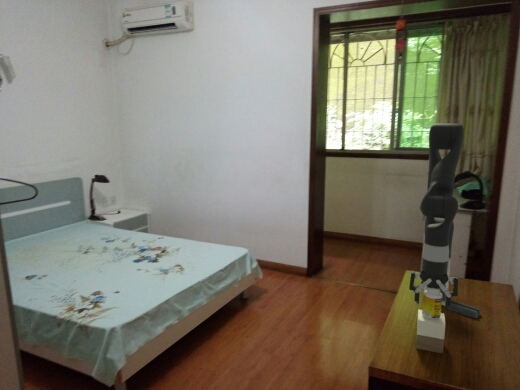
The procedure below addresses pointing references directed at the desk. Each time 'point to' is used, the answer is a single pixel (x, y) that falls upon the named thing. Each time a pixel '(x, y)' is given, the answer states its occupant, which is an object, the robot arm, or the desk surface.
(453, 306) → the can opener
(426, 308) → the supplement bottle
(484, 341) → the desk surface
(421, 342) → the tower base
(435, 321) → the tower top
